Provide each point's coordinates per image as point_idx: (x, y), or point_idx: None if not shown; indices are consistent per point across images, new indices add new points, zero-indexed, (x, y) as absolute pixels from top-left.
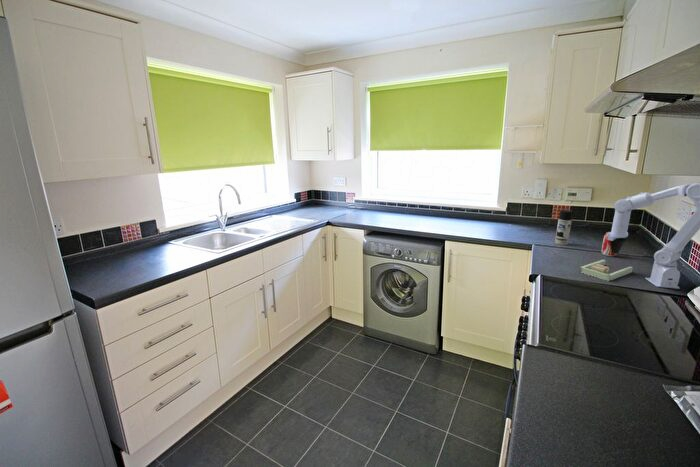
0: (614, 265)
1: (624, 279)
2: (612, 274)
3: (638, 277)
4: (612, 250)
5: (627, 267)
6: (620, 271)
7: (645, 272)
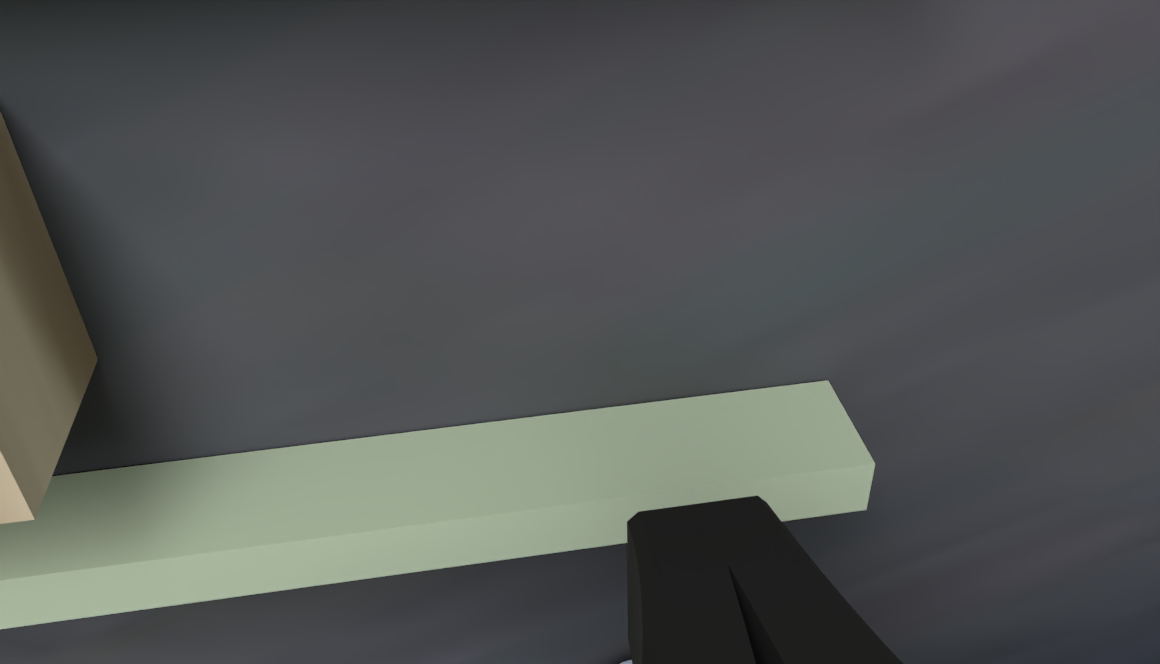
0: (1087, 3)
1: None
2: None
3: (608, 592)
4: (645, 632)
5: (747, 484)
6: (278, 580)
7: (1025, 499)
